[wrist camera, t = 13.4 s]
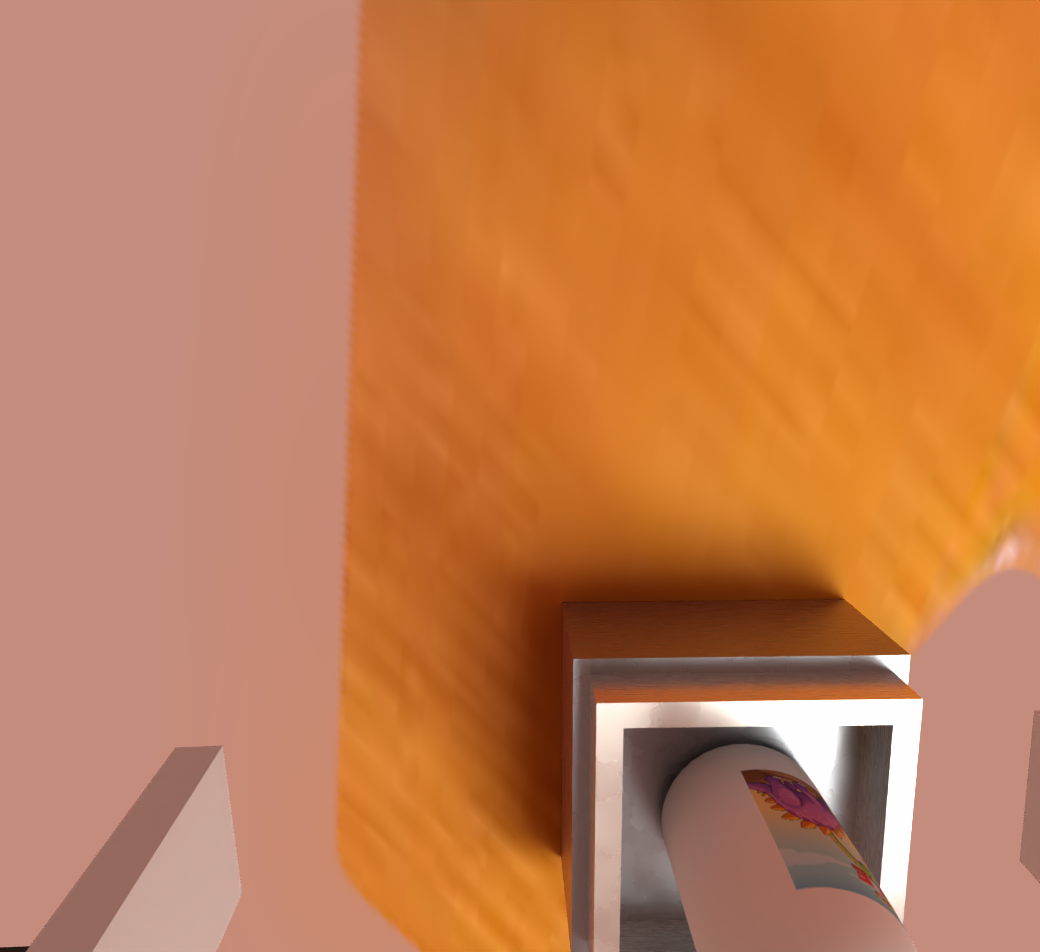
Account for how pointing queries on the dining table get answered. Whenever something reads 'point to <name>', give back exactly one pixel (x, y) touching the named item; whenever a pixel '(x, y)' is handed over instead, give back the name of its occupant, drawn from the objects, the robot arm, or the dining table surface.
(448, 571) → the dining table surface
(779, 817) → the milk bottle
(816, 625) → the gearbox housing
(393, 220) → the dining table surface
